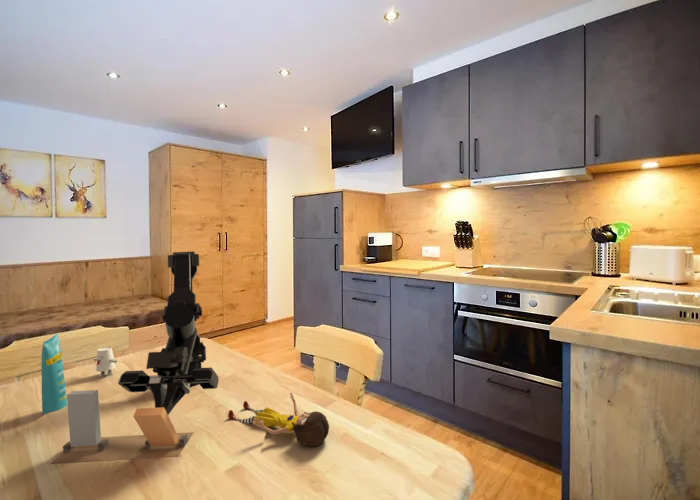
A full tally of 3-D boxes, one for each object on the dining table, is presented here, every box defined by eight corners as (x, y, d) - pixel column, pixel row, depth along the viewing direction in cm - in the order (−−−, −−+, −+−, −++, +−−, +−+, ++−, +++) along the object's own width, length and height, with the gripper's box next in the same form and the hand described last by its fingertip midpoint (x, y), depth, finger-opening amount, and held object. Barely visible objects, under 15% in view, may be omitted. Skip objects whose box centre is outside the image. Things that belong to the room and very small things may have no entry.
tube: (62, 415, 85) (57, 339, 84) (37, 420, 83) (31, 342, 82) (71, 402, 92) (66, 331, 91) (48, 406, 90) (42, 334, 89)
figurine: (255, 387, 89) (338, 395, 77) (259, 416, 89) (342, 428, 77) (214, 412, 77) (304, 426, 66) (218, 445, 77) (309, 464, 66)
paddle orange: (153, 438, 71) (136, 408, 65) (178, 437, 71) (164, 407, 65) (150, 446, 70) (133, 416, 64) (176, 444, 70) (160, 414, 64)
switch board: (80, 442, 74) (79, 432, 74) (194, 436, 76) (193, 426, 75) (50, 468, 66) (49, 456, 66) (178, 461, 68) (177, 449, 67)
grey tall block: (75, 442, 71) (72, 391, 70) (101, 440, 71) (97, 390, 70) (70, 446, 69) (66, 394, 69) (96, 445, 70) (92, 393, 69)
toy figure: (82, 377, 108) (80, 350, 107) (99, 370, 113) (97, 344, 113) (112, 381, 105) (110, 353, 104) (128, 373, 110) (127, 347, 110)
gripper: (119, 334, 71) (87, 414, 61) (211, 331, 73) (194, 409, 63) (142, 356, 80) (117, 429, 70) (224, 352, 81) (211, 424, 71)
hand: (158, 423), depth 68 cm, fingers closed, pressing on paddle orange
